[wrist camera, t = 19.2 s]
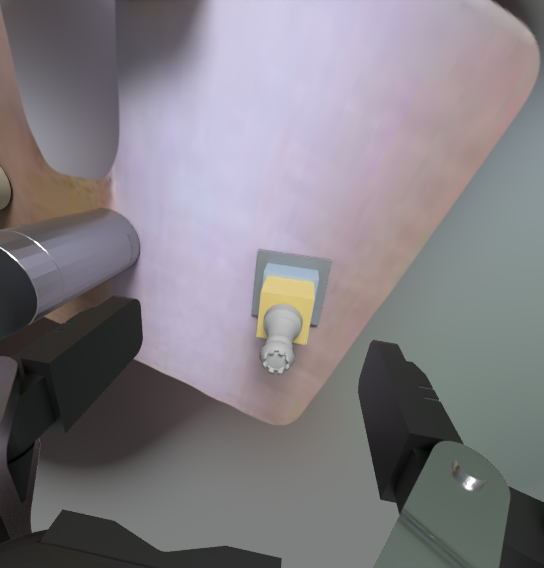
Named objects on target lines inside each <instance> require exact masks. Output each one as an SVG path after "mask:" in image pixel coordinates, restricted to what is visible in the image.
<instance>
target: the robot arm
mask: <svg viewBox="0 0 544 568" xmlns="http://www.w3.org/2000/svg"><path fill="white" fill-rule="evenodd" d="M139 250H140V245H139V239H138V236H137V234H136V231H135V230H134V228H133V226H132V225H131V224H130V223H129V221H128V220H127V219H125V218H124V217H123V216H122V215H120V214H118V213H117V212H114V211H112V210H108V209H96V210H91V211H86V212H81V213H76V214H71V215H67V216H62V217H57V218H53V219H48V220H43V221H39V222H34V223H29V224H25V225H20V226H15V227H11V228H6V229H1V230H0V340H1V339H3V338H6V337H8V336H10V335H12V334H13V333H15V332H17V331H19V330H20V329H22V328H24V327H25V326H27V325H29V324H31V323H33V322H34V321H36V320H38V319H40V318H41V317H43V316H45V315H47V314H49V313H50V312H52V311H54V310H55V309H57V308H59V307H61V306H62V305H64V304H66V303H68V302H69V301H71V300H73V299H75V298H76V297H78V296H80V295H82V294H83V293H85V292H87V291H89V290H90V289H92V288H94V287H96V286H98V285H99V284H101V283H103V282H105V281H106V280H108V279H110V278H112V277H113V276H115V275H117V274H119V273H120V272H122V271H124V270H125V269H127V268H129V267H131V266H132V265H133V264H134V263H135V262H136V260H137V258H138V255H139ZM142 340H143V334H142V319H141V306H140V302H139V301H138V300H137V299H133V298H127V297H121V296H112V297H111V298H109V299H108V300H106V301H105V302H103V303H102V304H100V305H99V306H97V307H94V308H91V309H89V310H86V311H83V312H81V313H78V314H77V315H75V316H74V317H72V318H71V319H69V320H68V321H66V323H63V324H61V325H60V326H58V327H57V328H55V330H54V331H51V332H49V333H48V334H46V335H44V336H43V337H41V338H40V339H38V340H37V341H35V342H33V343H32V344H30V345H29V346H27V347H26V348H24V349H23V350H21V351H20V352H18V353H17V354H15V355H14V356H12V357H10V358H9V357H3V356H0V568H281V558H278V557H273V556H269V555H264V554H260V553H256V552H251V551H247V550H242V549H238V548H233V547H229V546H219V547H210V548H200V549H191V550H182V551H171V552H163V551H160V550H158V549H156V548H154V547H153V546H151V545H150V544H148V543H147V542H145V541H144V540H142V539H141V538H139V537H138V536H136V535H134V534H133V533H132V532H130V531H129V530H127V529H126V528H124V527H123V526H121V525H120V524H118V523H117V522H115V521H112V520H108V519H103V518H99V517H94V516H90V515H85V514H80V513H76V512H72V511H67V510H62V511H61V513H60V514H59V515H58V517H57V518H56V519H55V521H54V522H53V523H52V525H51V526H50V528H49V529H48V530H43V531H38V532H34V533H32V530H31V507H32V500H33V493H34V487H35V480H36V473H37V466H38V459H39V452H40V441H39V437H40V436H41V435H42V434H43V433H44V432H45V431H46V430H51V431H56V432H61V433H66V432H67V431H68V430H69V429H70V428H71V426H72V425H73V424H74V423H75V422H76V421H77V420H78V419H79V418H80V417H81V415H82V414H83V413H84V412H85V411H86V410H87V409H88V408H89V407H90V405H91V404H92V403H93V402H94V401H95V400H96V399H97V398H98V397H99V396H100V395H101V393H102V392H103V391H104V390H105V389H106V388H107V387H108V386H109V385H110V384H111V382H112V381H113V380H114V379H115V378H116V377H117V376H118V375H119V374H120V373H121V371H122V370H123V369H124V368H125V367H126V366H127V365H128V364H129V362H131V360H132V359H133V358H134V357H135V356H136V355H137V354H138V352H139V350H140V348H141V345H142ZM358 393H359V399H360V404H361V409H362V414H363V419H364V423H365V428H366V433H367V438H368V442H369V447H370V451H371V456H372V461H373V466H374V471H375V476H376V480H377V485H378V490H379V495H380V499H381V500H385V501H390V502H395V503H397V507H398V511H399V517H398V519H397V521H396V523H395V525H394V527H393V529H392V531H391V533H390V535H389V537H388V539H387V541H386V543H385V545H384V547H383V549H382V551H381V553H380V555H379V557H378V558H377V560H376V563H375V565H374V566H373V568H544V502H542V501H539V500H537V499H535V498H533V497H531V496H529V495H526V494H524V493H522V492H520V491H518V490H515V489H513V488H511V487H509V486H508V485H507V483H506V481H505V479H504V477H503V476H502V475H501V473H500V472H499V470H498V469H497V468H496V467H495V466H494V465H493V464H492V463H491V462H490V461H489V460H488V459H486V458H485V457H484V456H483V455H481V454H480V453H478V452H477V451H475V450H474V449H472V448H470V447H468V446H466V445H464V444H463V442H462V440H461V438H460V436H459V435H458V433H457V431H456V430H455V427H454V426H453V424H452V422H451V420H450V418H449V416H448V415H447V413H446V411H445V409H444V407H443V405H442V404H441V402H439V398H438V396H437V395H436V393H435V391H434V390H433V388H432V385H431V384H430V382H429V380H428V378H427V376H426V375H425V374H424V373H423V372H422V371H421V370H420V369H419V368H418V367H417V366H416V365H415V364H414V363H413V362H408V361H406V360H405V358H404V356H403V354H402V352H401V350H400V348H399V346H398V345H397V344H394V343H389V342H383V341H377V340H373V341H372V342H371V343H370V346H369V349H368V352H367V355H366V358H365V362H364V365H363V369H362V371H361V375H360V378H359V386H358Z"/></svg>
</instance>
